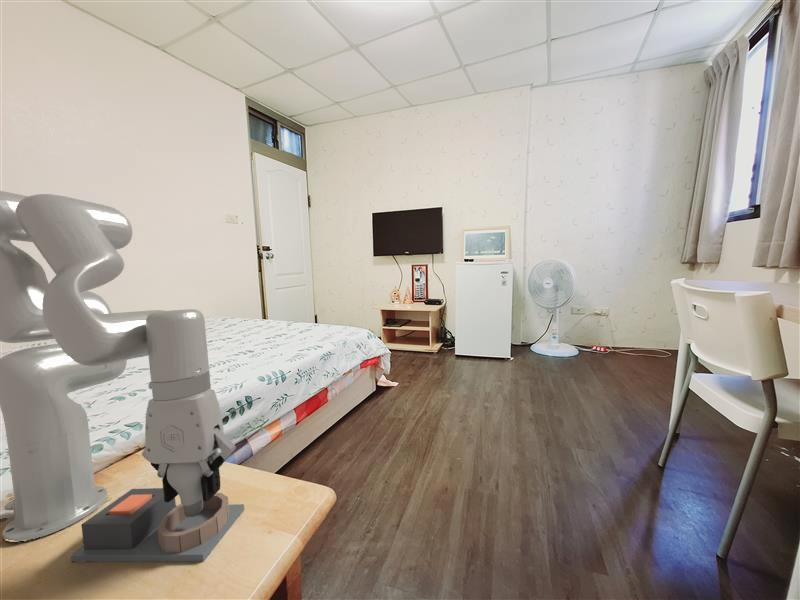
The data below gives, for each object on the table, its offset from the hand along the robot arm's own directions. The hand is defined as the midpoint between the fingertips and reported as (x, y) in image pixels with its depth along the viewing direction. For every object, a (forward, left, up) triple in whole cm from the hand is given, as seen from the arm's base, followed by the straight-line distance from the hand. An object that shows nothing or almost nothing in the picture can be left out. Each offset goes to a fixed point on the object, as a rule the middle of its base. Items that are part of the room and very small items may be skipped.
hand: (193, 494), depth 48 cm
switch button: (-11, 0, -5) cm, 12 cm away
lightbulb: (0, 0, -4) cm, 4 cm away
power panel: (-6, 0, -7) cm, 8 cm away
